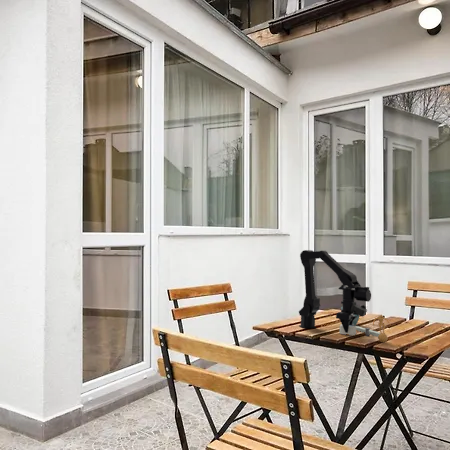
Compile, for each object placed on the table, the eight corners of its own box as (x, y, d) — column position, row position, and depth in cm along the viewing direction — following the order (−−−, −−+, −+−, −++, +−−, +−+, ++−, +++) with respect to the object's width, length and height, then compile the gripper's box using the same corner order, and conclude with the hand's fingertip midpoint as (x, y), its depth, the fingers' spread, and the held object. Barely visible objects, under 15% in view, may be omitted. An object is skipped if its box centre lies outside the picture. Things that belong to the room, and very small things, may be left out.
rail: (371, 337, 219) (371, 330, 219) (344, 329, 238) (345, 322, 238) (382, 336, 222) (382, 329, 222) (354, 328, 240) (355, 322, 240)
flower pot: (357, 323, 255) (357, 307, 256) (360, 326, 247) (360, 309, 247) (340, 323, 256) (341, 306, 256) (343, 326, 247) (343, 309, 248)
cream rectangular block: (356, 334, 226) (356, 325, 226) (353, 335, 223) (353, 326, 223) (342, 332, 230) (342, 323, 230) (339, 333, 226) (339, 325, 227)
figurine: (375, 343, 207) (375, 315, 207) (370, 340, 213) (370, 313, 213) (393, 343, 208) (394, 316, 208) (387, 340, 214) (388, 314, 214)
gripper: (359, 302, 215) (359, 337, 214) (370, 299, 230) (369, 331, 230) (336, 300, 221) (335, 333, 220) (348, 297, 236) (347, 328, 236)
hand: (347, 331), depth 226 cm, fingers closed on cream rectangular block, 4 cm apart
